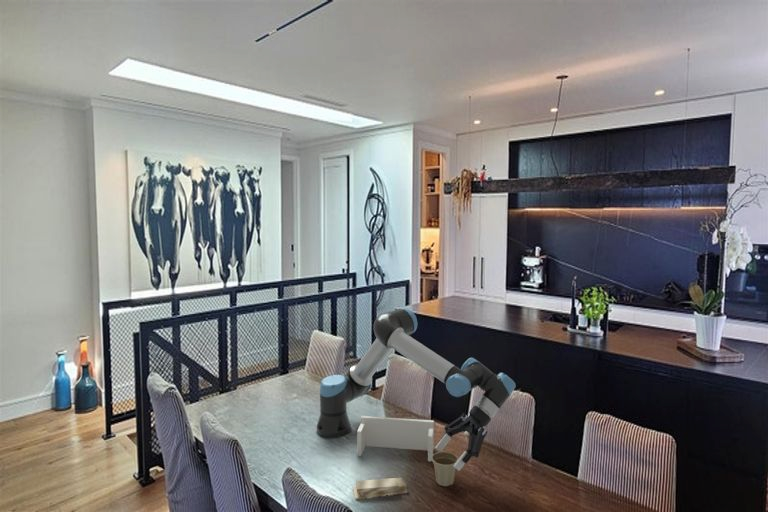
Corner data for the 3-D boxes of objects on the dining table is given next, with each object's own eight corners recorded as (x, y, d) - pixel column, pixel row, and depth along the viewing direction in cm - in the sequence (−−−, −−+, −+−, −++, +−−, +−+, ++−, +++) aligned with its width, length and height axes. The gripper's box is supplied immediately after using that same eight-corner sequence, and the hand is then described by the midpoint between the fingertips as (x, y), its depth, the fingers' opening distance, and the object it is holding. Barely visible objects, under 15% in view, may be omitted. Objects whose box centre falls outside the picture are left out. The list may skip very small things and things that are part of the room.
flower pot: (429, 474, 164) (429, 452, 163) (454, 473, 165) (454, 450, 164) (434, 489, 155) (434, 465, 154) (461, 488, 155) (461, 464, 155)
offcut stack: (355, 502, 149) (355, 491, 149) (352, 490, 155) (352, 480, 155) (407, 494, 153) (407, 484, 153) (402, 483, 159) (402, 474, 159)
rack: (356, 455, 178) (356, 426, 177) (361, 443, 187) (361, 415, 187) (432, 461, 173) (432, 431, 172) (433, 449, 183) (433, 420, 182)
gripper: (510, 432, 152) (471, 483, 148) (471, 404, 176) (437, 448, 172) (497, 419, 150) (457, 471, 146) (459, 393, 173) (424, 437, 169)
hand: (446, 459), depth 159 cm, fingers open, 13 cm apart
